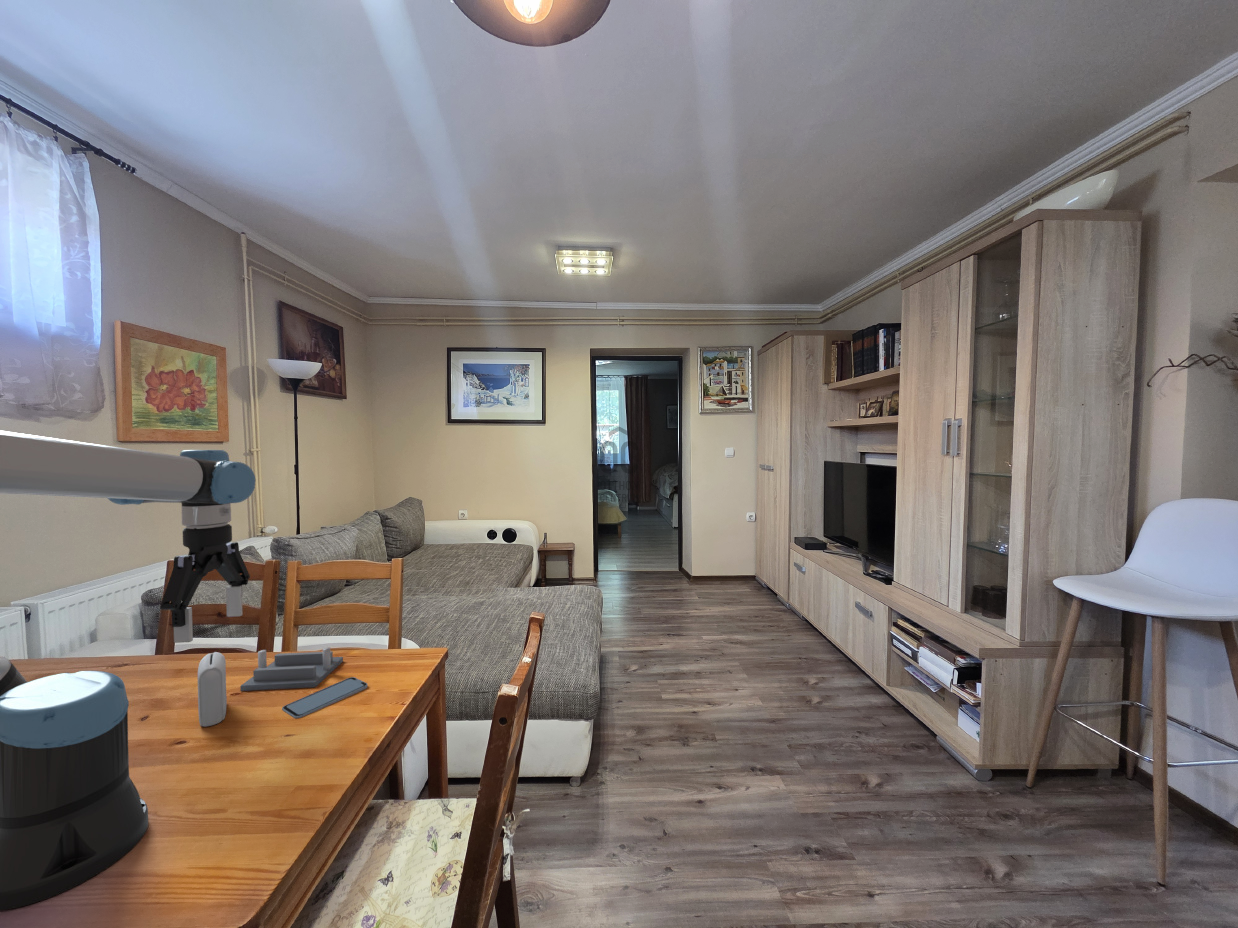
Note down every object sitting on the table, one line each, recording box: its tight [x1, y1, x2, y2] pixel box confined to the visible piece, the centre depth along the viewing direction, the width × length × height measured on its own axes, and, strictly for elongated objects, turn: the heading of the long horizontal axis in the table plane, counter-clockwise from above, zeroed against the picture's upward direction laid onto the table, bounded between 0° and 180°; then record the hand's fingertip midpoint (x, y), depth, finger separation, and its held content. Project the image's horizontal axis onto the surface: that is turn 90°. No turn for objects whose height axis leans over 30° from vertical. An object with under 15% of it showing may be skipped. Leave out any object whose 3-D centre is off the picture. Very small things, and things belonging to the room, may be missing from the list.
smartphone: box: [281, 676, 368, 719], centre depth 102 cm, size 7×1×15 cm
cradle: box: [239, 646, 344, 692], centre depth 112 cm, size 13×16×6 cm
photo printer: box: [197, 651, 228, 728], centre depth 95 cm, size 10×4×12 cm, turn 39°
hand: (210, 627), depth 95 cm, fingers open, 13 cm apart
